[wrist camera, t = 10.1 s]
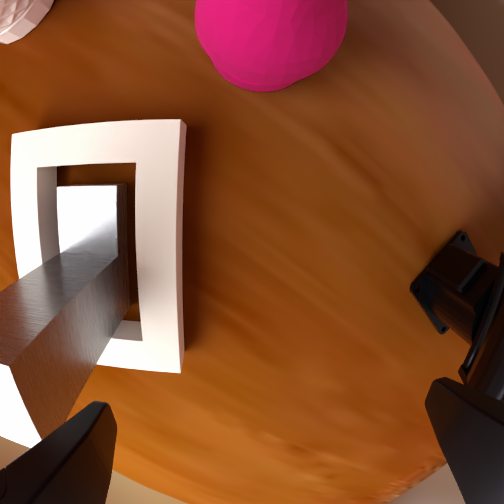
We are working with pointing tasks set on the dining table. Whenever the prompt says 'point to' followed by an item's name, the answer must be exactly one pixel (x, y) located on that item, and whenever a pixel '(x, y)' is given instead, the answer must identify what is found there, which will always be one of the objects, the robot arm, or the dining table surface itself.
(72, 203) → the grey block
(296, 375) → the dining table surface
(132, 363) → the block
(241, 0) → the pepper mill
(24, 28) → the white cup
